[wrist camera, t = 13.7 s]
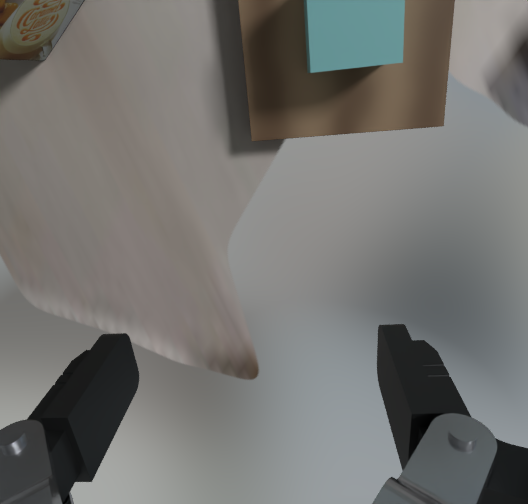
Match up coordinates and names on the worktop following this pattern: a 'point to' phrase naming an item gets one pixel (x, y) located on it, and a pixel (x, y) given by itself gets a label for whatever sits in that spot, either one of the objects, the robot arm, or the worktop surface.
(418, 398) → the robot arm
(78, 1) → the coffee box
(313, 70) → the teal cube
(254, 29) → the walnut stand
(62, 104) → the worktop surface
